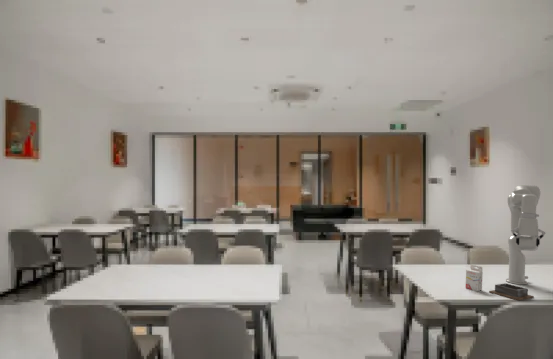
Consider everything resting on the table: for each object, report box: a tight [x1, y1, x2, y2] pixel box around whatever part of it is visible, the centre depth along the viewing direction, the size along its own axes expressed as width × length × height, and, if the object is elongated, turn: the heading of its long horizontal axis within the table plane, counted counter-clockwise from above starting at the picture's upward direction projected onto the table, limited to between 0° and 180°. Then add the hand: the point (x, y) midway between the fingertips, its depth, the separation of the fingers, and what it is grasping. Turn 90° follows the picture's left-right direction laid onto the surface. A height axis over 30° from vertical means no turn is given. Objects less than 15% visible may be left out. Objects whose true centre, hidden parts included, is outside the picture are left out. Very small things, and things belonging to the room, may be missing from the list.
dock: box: [488, 282, 535, 301], centre depth 254 cm, size 15×18×5 cm
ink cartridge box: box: [465, 264, 484, 292], centre depth 266 cm, size 9×5×15 cm, turn 33°
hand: (527, 245), depth 247 cm, fingers open, 9 cm apart
